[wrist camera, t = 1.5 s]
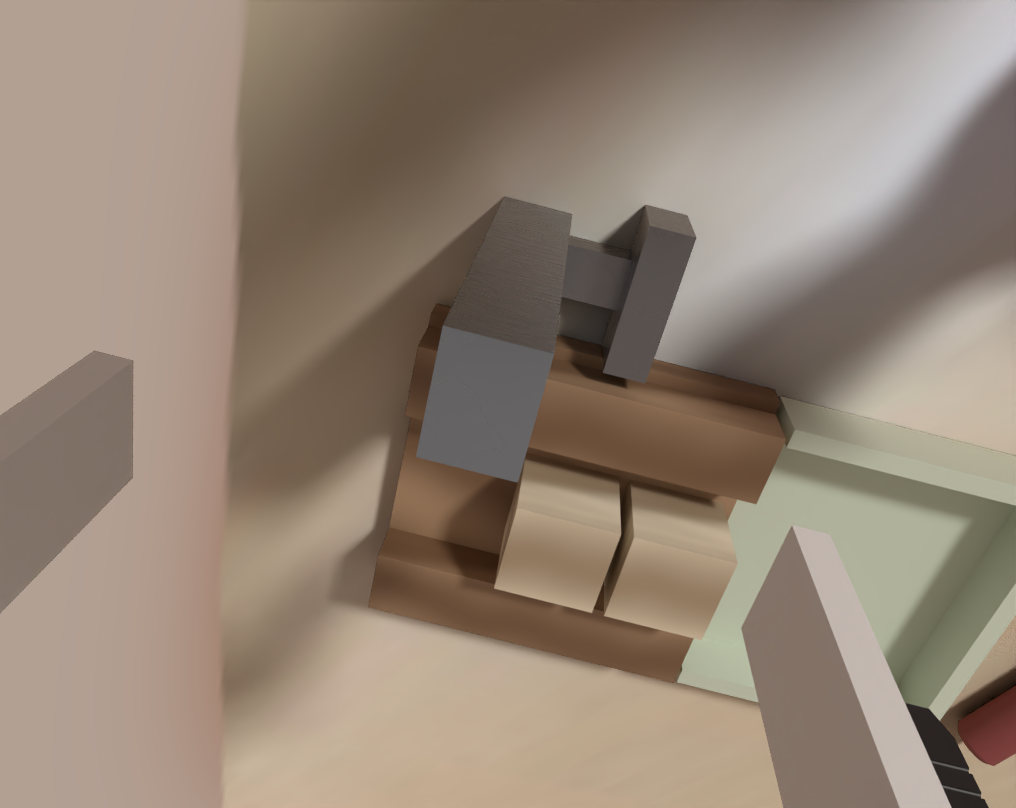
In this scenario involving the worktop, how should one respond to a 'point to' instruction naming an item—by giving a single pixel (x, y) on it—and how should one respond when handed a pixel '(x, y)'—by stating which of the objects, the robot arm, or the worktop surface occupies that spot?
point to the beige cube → (560, 533)
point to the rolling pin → (991, 729)
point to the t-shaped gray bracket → (541, 326)
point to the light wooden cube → (669, 561)
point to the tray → (880, 548)
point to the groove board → (581, 442)
